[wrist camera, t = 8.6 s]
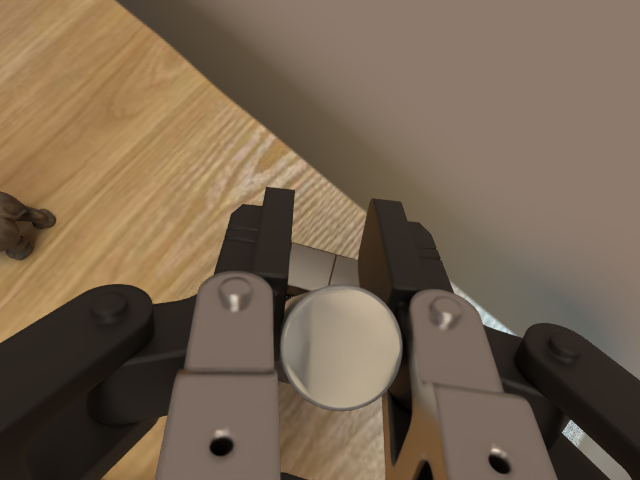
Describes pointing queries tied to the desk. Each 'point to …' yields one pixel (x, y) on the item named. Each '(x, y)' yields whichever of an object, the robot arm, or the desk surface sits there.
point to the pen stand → (316, 276)
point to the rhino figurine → (4, 232)
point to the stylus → (340, 347)
